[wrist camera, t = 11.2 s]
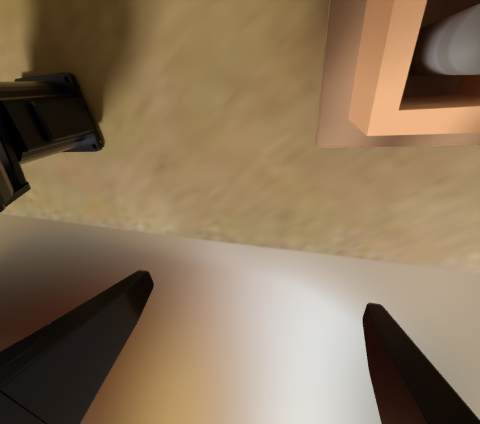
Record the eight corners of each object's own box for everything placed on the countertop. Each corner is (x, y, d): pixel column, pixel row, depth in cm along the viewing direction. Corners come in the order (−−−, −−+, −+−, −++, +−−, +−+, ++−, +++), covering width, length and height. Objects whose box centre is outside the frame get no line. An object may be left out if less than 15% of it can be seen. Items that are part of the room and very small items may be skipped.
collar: (348, 118, 14) (366, 136, 10) (370, -21, 11) (410, -82, 7) (471, 112, 12) (554, 130, 8) (540, -54, 9) (733, -159, 5)
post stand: (315, 142, 17) (321, 173, 11) (333, -51, 12) (359, -162, 6) (479, 138, 14) (587, 176, 9) (593, -110, 9) (1012, -381, 4)
